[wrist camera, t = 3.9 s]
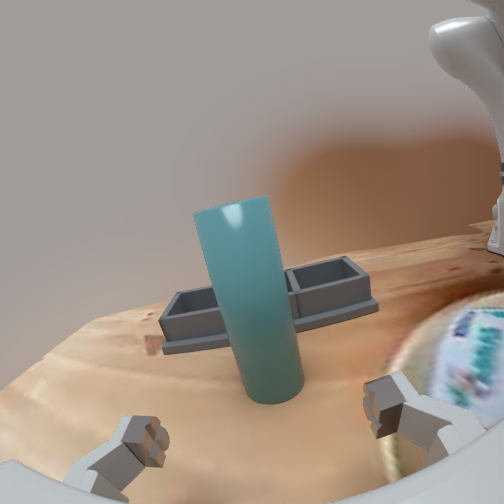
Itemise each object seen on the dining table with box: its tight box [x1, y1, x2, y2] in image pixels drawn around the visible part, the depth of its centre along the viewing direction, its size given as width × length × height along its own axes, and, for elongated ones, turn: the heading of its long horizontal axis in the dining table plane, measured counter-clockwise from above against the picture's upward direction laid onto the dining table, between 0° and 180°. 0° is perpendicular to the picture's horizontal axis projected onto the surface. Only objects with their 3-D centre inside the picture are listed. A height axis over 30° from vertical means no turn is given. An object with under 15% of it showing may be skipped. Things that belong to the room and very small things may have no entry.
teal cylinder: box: [193, 195, 304, 404], centre depth 19 cm, size 5×5×15 cm
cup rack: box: [158, 256, 379, 355], centre depth 33 cm, size 25×11×4 cm, turn 90°
